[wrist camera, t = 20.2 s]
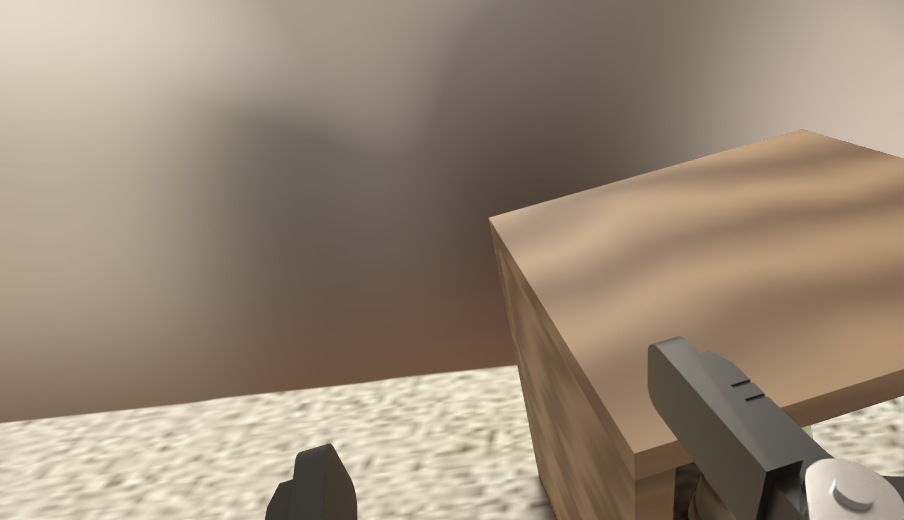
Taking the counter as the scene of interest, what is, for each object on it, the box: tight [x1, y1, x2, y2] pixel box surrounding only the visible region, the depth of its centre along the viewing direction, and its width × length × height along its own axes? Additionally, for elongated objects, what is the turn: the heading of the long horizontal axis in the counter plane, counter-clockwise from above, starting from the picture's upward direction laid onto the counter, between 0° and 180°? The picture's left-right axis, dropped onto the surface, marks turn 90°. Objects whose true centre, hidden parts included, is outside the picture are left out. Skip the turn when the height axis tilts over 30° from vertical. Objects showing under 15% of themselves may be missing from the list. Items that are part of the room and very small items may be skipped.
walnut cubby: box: [489, 129, 904, 520], centre depth 31 cm, size 19×23×29 cm
